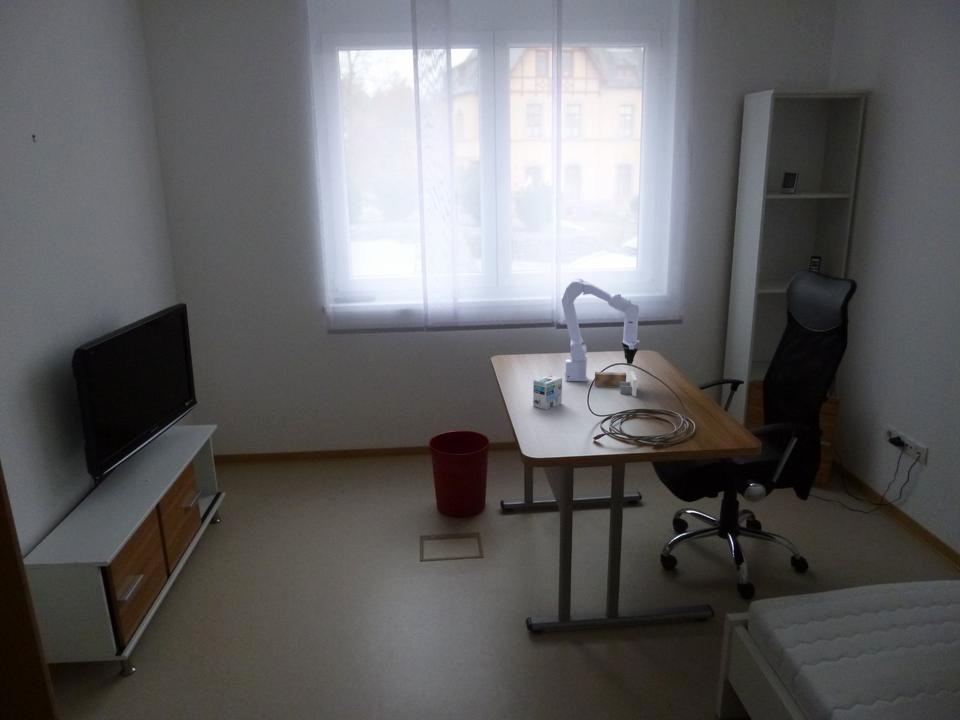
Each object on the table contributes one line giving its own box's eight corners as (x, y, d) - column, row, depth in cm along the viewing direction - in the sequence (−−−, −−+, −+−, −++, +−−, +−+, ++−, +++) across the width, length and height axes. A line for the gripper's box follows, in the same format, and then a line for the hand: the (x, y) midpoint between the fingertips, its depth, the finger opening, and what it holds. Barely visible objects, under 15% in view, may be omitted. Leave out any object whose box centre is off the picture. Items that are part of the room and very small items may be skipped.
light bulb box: (545, 410, 267) (546, 383, 265) (532, 406, 272) (532, 380, 269) (562, 403, 275) (563, 377, 272) (548, 399, 279) (549, 374, 277)
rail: (594, 386, 297) (595, 374, 295) (594, 384, 300) (595, 372, 298) (625, 387, 295) (626, 374, 294) (625, 385, 298) (625, 372, 297)
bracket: (621, 396, 283) (622, 379, 281) (618, 386, 296) (619, 370, 294) (636, 396, 283) (637, 380, 281) (632, 386, 295) (633, 371, 293)
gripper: (642, 334, 287) (640, 366, 291) (638, 327, 301) (636, 357, 305) (625, 334, 288) (623, 365, 292) (621, 326, 302) (619, 356, 306)
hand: (628, 361), depth 298 cm, fingers open, 7 cm apart
